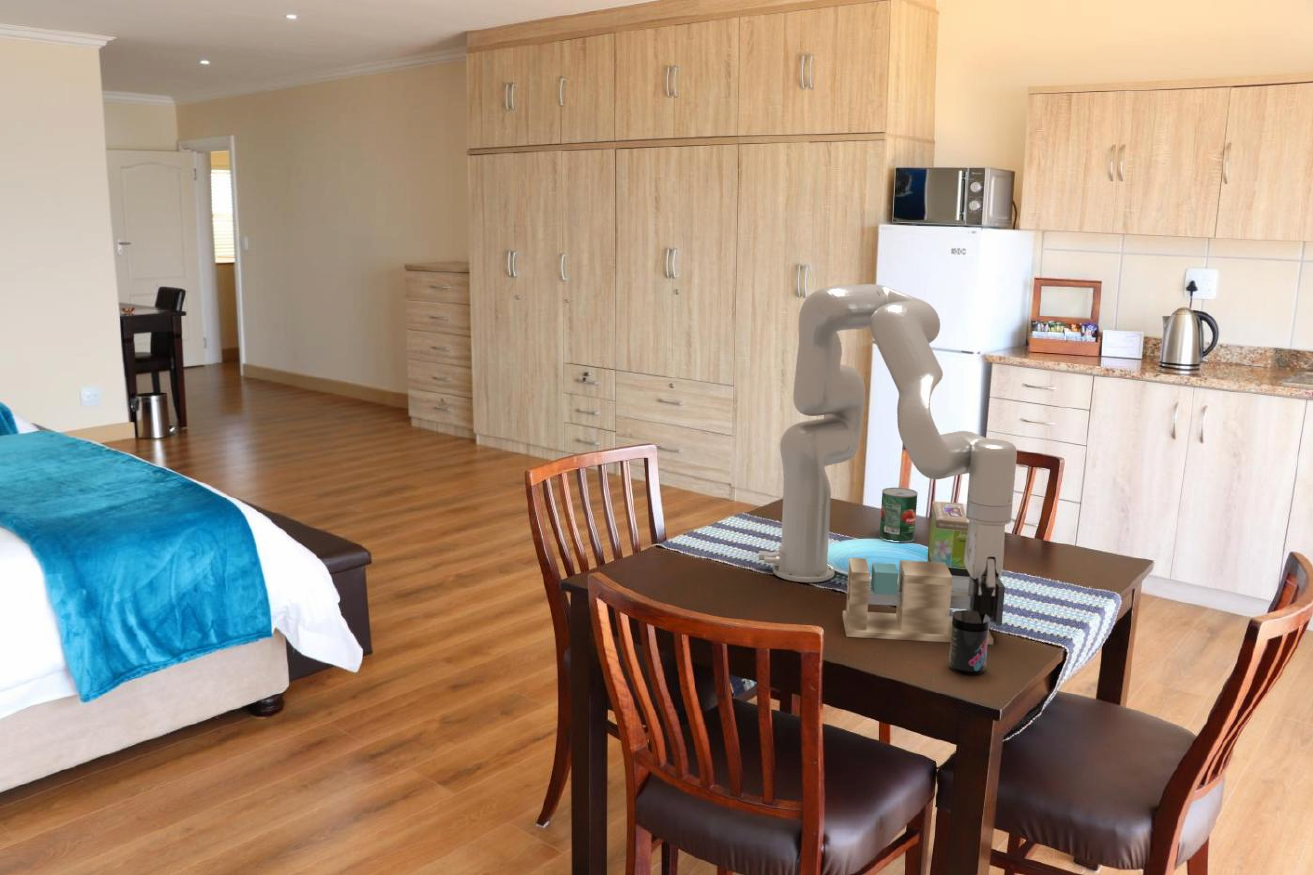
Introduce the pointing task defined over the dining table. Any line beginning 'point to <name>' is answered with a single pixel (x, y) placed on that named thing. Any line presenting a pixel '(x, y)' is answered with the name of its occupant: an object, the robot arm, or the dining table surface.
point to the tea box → (949, 540)
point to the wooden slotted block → (903, 604)
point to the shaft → (952, 598)
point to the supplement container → (969, 642)
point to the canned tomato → (898, 514)
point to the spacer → (884, 579)
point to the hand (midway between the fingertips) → (980, 610)
